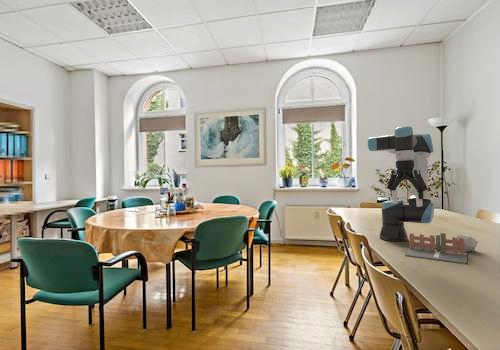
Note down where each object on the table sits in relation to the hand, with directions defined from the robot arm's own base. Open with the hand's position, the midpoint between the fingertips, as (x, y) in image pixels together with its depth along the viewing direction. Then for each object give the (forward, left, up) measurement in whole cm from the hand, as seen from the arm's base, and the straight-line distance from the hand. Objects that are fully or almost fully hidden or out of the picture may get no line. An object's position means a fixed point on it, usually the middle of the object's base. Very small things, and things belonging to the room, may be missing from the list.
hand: (406, 204), depth 129 cm
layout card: (-11, +10, -24) cm, 29 cm away
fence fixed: (-16, +16, -24) cm, 33 cm away
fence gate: (-16, +5, -23) cm, 28 cm away
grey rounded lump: (-26, +21, -25) cm, 42 cm away
